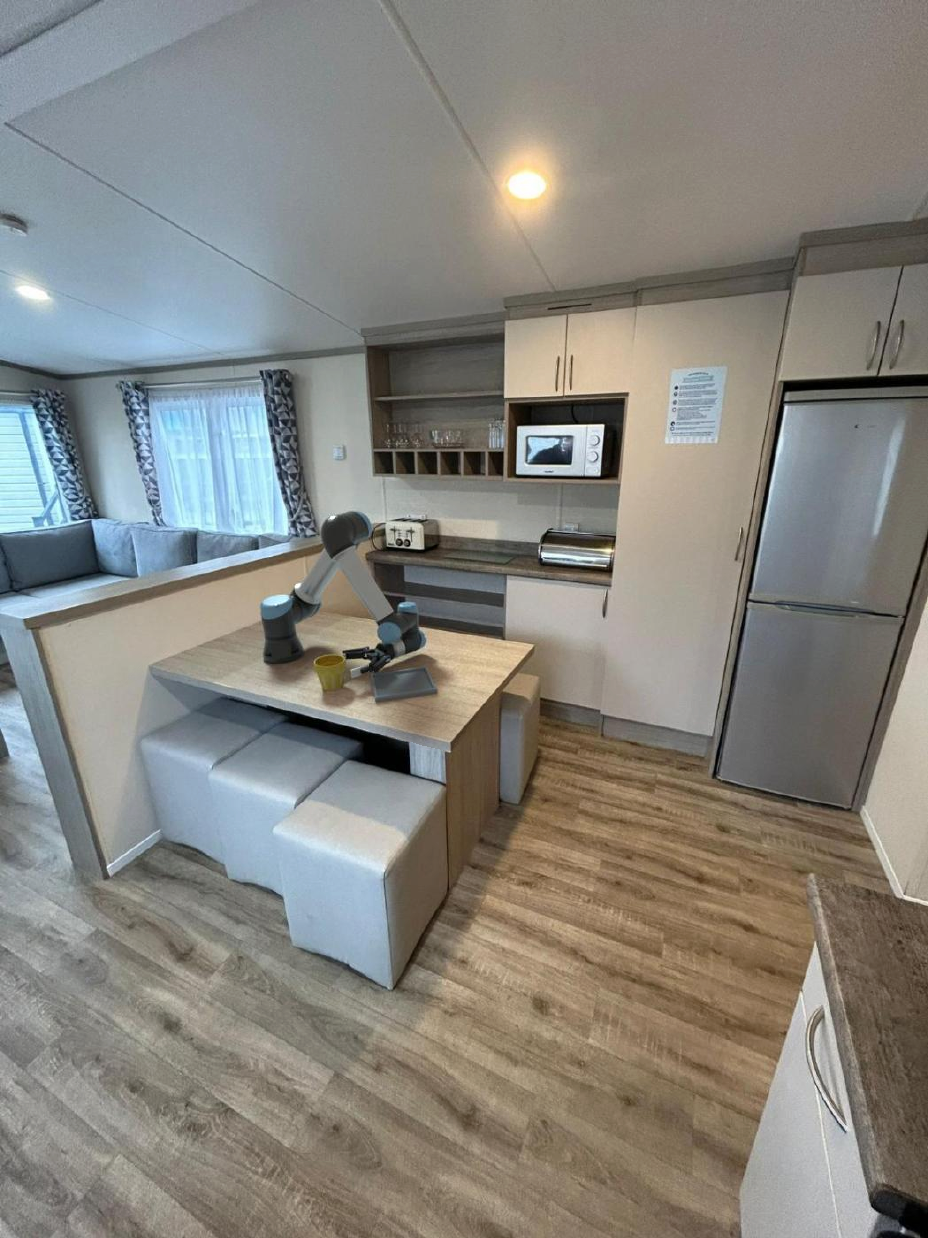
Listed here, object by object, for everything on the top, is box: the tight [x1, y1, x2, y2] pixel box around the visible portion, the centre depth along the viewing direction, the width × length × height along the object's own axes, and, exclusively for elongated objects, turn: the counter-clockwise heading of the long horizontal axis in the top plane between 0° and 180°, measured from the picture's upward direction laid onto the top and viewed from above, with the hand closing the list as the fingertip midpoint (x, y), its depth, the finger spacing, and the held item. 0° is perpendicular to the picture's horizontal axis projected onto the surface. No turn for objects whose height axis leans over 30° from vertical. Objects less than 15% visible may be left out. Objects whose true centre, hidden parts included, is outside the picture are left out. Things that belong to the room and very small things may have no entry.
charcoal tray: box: [369, 666, 438, 704], centre depth 164 cm, size 20×18×2 cm
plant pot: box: [313, 654, 347, 692], centre depth 163 cm, size 10×10×10 cm
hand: (339, 668), depth 164 cm, fingers open, 13 cm apart
